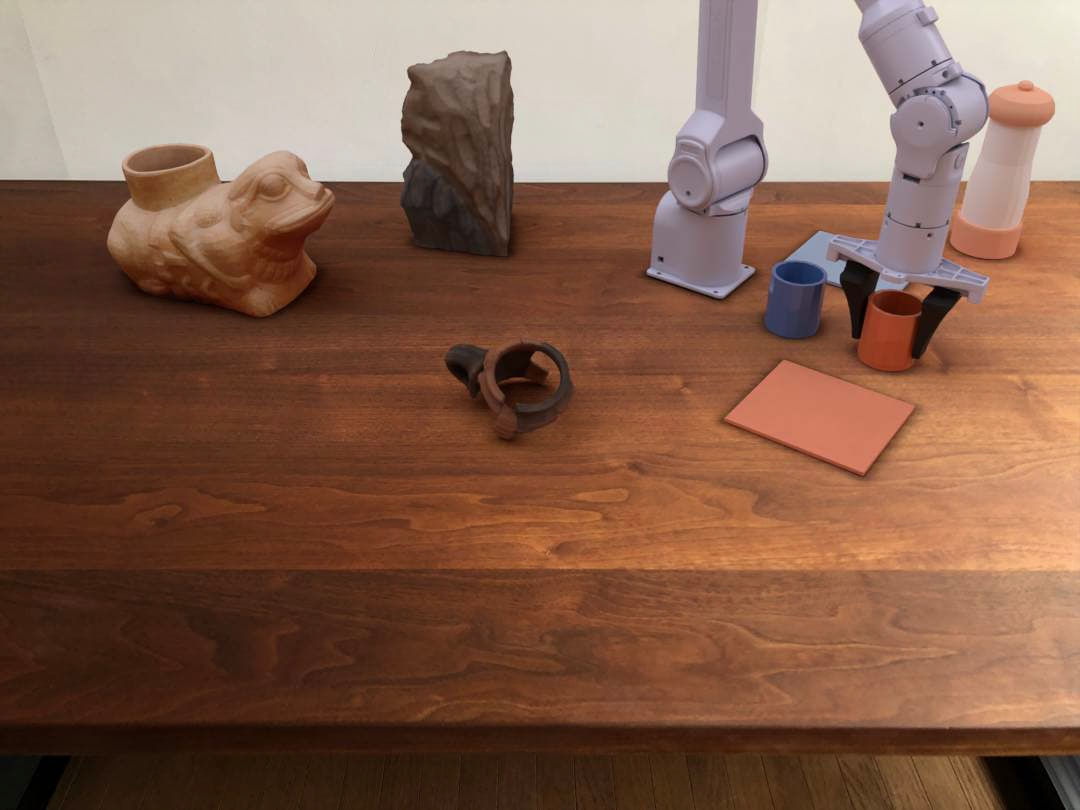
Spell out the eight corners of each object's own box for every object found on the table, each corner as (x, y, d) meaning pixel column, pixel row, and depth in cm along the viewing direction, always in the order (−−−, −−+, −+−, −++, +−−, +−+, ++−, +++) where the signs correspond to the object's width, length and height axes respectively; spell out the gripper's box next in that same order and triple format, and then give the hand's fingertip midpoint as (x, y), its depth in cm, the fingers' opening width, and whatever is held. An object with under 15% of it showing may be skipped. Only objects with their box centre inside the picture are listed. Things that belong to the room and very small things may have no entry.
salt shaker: (1021, 240, 124) (1070, 78, 113) (1007, 265, 119) (1056, 97, 108) (958, 226, 127) (999, 66, 116) (942, 249, 122) (983, 84, 111)
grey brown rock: (400, 246, 122) (386, 73, 110) (434, 202, 132) (425, 39, 120) (506, 258, 119) (503, 83, 108) (532, 212, 129) (532, 47, 118)
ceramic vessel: (306, 332, 106) (286, 193, 97) (88, 290, 113) (51, 157, 104) (368, 271, 117) (354, 140, 108) (165, 236, 124) (138, 111, 115)
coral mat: (723, 421, 94) (724, 417, 94) (783, 362, 102) (783, 359, 102) (863, 476, 88) (863, 472, 87) (914, 409, 96) (915, 405, 95)
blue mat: (778, 268, 118) (778, 265, 118) (819, 233, 125) (819, 230, 125) (890, 302, 111) (891, 299, 111) (927, 264, 119) (927, 260, 119)
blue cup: (754, 327, 107) (762, 275, 104) (778, 306, 111) (786, 255, 107) (804, 344, 105) (813, 291, 101) (826, 322, 108) (836, 270, 105)
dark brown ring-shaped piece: (576, 385, 99) (592, 344, 92) (547, 473, 95) (561, 437, 88) (455, 343, 99) (461, 299, 92) (421, 430, 95) (424, 390, 88)
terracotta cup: (848, 359, 102) (859, 305, 99) (869, 336, 106) (881, 283, 102) (901, 378, 100) (915, 323, 96) (922, 353, 103) (935, 300, 100)
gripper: (823, 209, 95) (800, 337, 103) (985, 253, 88) (948, 388, 96) (854, 183, 100) (830, 308, 108) (1010, 224, 93) (973, 354, 101)
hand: (887, 344), depth 102 cm, fingers closed on terracotta cup, 5 cm apart
